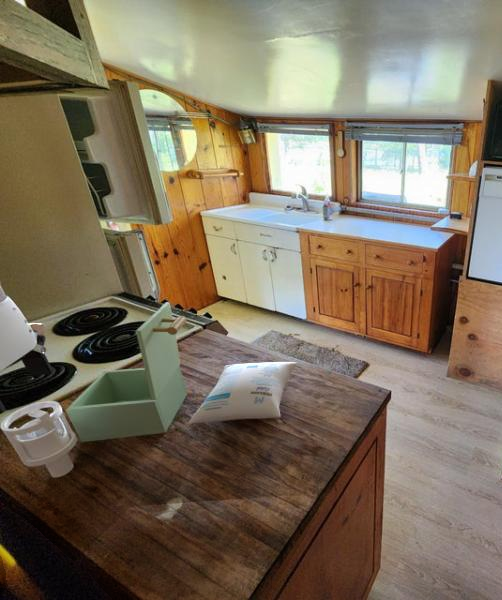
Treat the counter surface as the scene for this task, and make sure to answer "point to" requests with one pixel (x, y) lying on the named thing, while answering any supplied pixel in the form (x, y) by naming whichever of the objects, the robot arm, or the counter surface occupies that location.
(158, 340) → the lid
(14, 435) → the white cylindrical piece
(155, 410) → the box
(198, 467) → the counter surface
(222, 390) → the pouch
